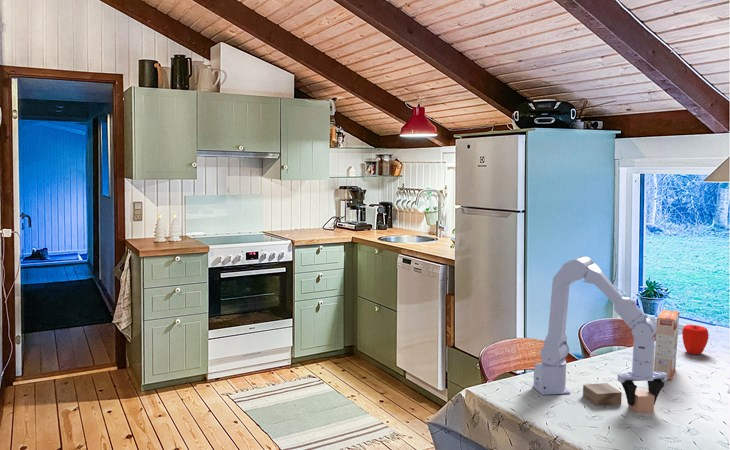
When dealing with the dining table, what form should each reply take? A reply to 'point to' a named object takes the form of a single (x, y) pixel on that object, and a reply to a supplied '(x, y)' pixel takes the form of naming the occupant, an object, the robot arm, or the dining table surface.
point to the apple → (695, 338)
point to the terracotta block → (643, 402)
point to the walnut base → (602, 394)
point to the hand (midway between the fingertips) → (641, 404)
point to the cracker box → (666, 342)
